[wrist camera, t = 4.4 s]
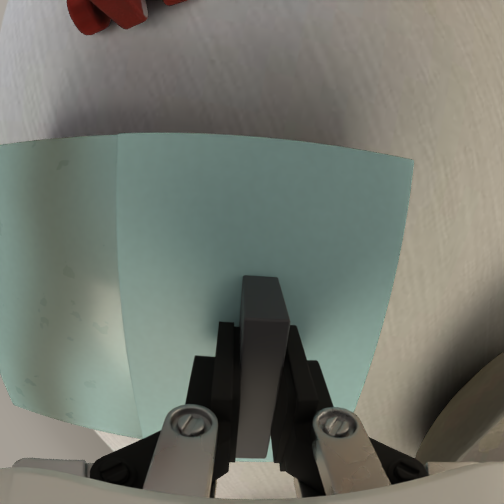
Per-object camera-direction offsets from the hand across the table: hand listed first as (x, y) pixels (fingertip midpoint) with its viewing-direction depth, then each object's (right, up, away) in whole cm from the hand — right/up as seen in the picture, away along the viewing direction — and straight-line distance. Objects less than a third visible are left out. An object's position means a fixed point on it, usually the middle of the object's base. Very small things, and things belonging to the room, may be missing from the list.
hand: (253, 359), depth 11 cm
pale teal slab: (0, 0, +1) cm, 1 cm away
